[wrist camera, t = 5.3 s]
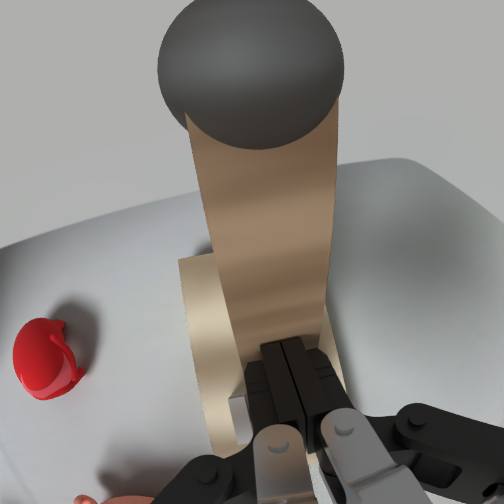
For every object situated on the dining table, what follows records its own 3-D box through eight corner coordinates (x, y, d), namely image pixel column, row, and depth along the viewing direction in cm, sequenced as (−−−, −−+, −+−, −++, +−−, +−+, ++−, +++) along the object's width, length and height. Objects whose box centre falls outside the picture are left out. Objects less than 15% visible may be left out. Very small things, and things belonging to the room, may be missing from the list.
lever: (318, 421, 16) (378, -24, 3) (251, 437, 16) (127, -15, 3) (301, 367, 19) (302, -6, 6) (240, 380, 19) (155, 7, 6)
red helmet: (86, 405, 19) (60, 334, 18) (22, 414, 16) (-8, 345, 15) (87, 360, 26) (71, 303, 25) (36, 369, 23) (17, 313, 22)
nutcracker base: (346, 441, 21) (373, 460, 15) (224, 469, 20) (216, 498, 14) (298, 243, 27) (311, 208, 21) (184, 264, 26) (167, 234, 20)
